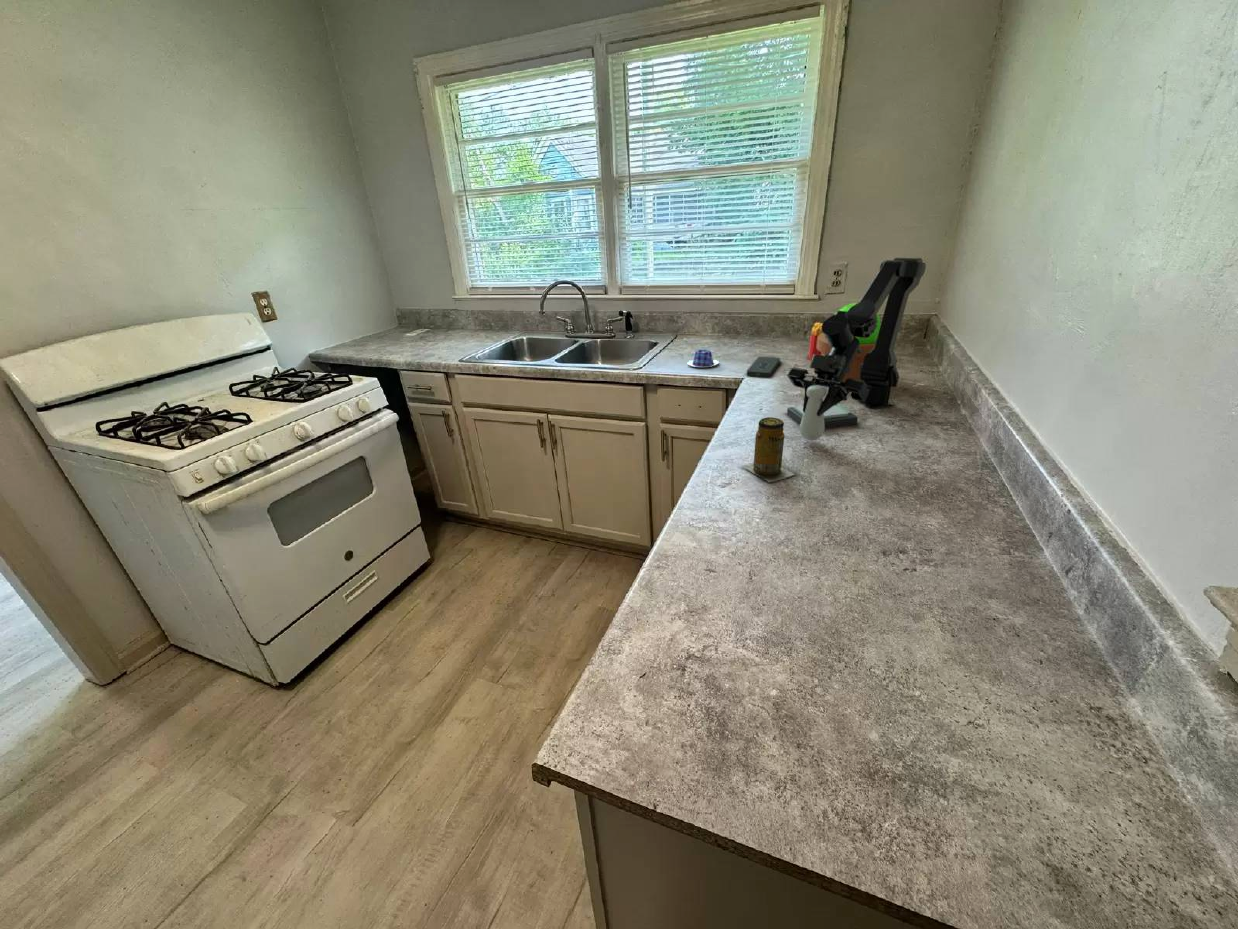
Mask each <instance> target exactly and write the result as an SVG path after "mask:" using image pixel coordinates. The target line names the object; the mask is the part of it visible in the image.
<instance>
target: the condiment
mask: <svg viewBox="0 0 1238 929" xmlns="http://www.w3.org/2000/svg"><path fill="white" fill-rule="evenodd" d="M784 425H785V422H784V421H783V420H782V419H780V418H778V417H771V416H770V417H768V416H767V417H763V418H761V419H759V421H758V425H757V431H756V432H755V441H754V452H753V453H754V455H753V464H752V465H748V466H744V469H746V470H747V471H749V472H751V473H752V474H754V475H756V476H757V477H760V479H762V480H764V481H766V482H768V483H774V482H776V481H781V480H783V479H786V478H789V477H792V476H794V475H796V474H795V473H794V472H792V471H790V470H788V469H786V468H784V467H782V463H783V454H784V446H785V445H784V444H785V433H784V429H785V428H784Z"/></svg>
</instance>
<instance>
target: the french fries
mask: <svg viewBox="0 0 1238 929" xmlns="http://www.w3.org/2000/svg"><path fill="white" fill-rule="evenodd" d="M822 324H823V322H814V326H813V327H812V328H811V333H810V341H809V351H808V360H810V361H811V360H812V357H813V354H816V355H822V352H820V351H818V350H817V339H818V336H819V335H820V334H822V333H823V331H822Z"/></svg>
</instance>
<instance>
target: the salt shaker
mask: <svg viewBox="0 0 1238 929" xmlns="http://www.w3.org/2000/svg"><path fill="white" fill-rule="evenodd" d="M826 395H827V389H826V387H824V386H819V385H815V386H810V387H809V388H808V389H807V396H808V397H809V399H808V403H807V406H806V410H805V413H804V415H803V418H802V421H801V424H799V431H800V434H801V437H802V438H803V439H805V440H808V441H817V440H819V439H820V438H821V437H822V435H823V434H824V432H825V430H826V428H825V426H824V413H823V414H822V415H821V416H817V412H818V409H819V408H820V406H821V404H822V402H823V401H824V399H825V397H826ZM823 398H824V399H823Z"/></svg>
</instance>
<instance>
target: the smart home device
mask: <svg viewBox="0 0 1238 929" xmlns="http://www.w3.org/2000/svg"><path fill="white" fill-rule="evenodd" d="M780 362H781V359H780V357H773V356H758V357H757V358H756V360H754V362H753V363H752V364H751V365H750V366H749V367H748V369H747V370H746V376H748V377H749V376H751V377H761V378H762V377H763V378H769V377H771V376H772V374H773V373H774V371H775V370H776V368H777V367H778V366H779V364H780Z"/></svg>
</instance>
